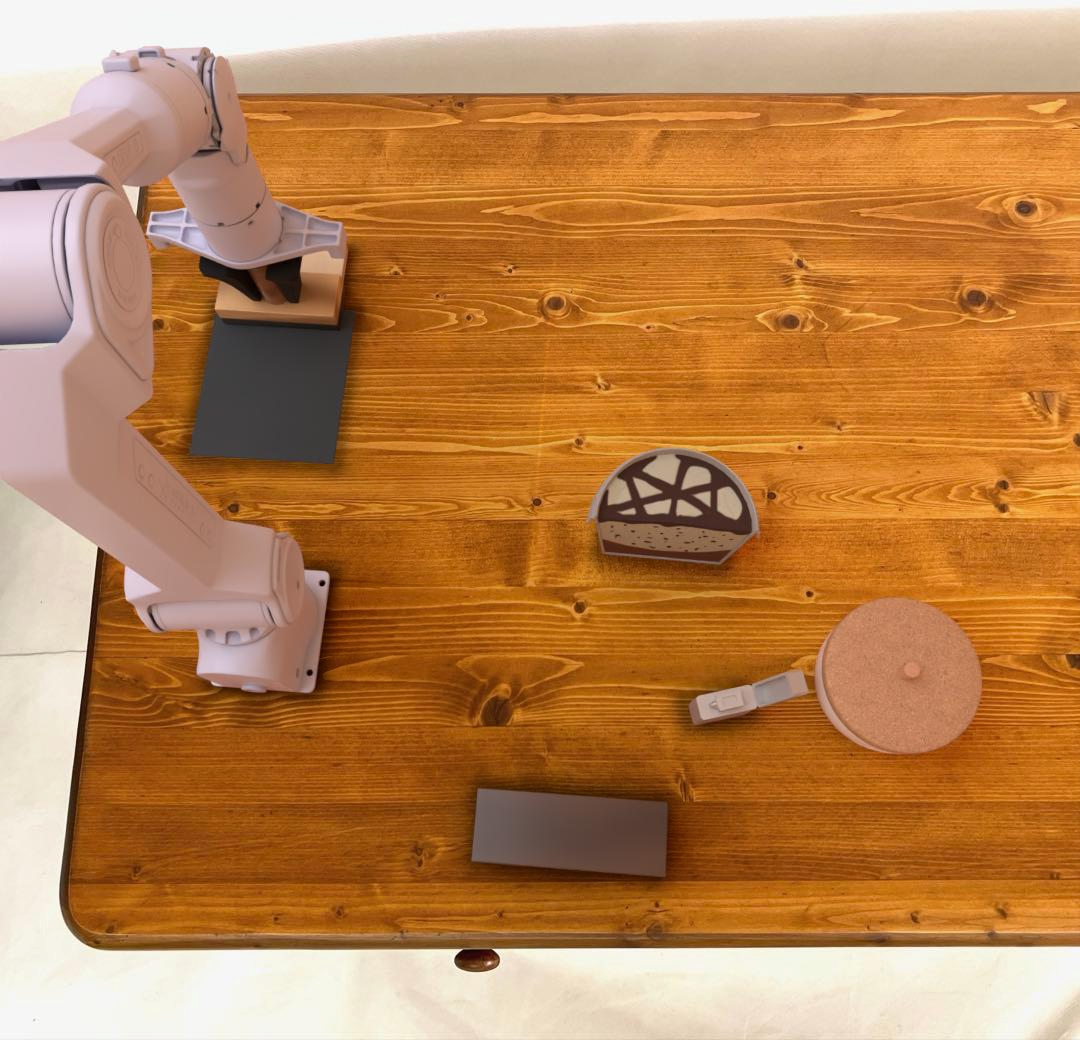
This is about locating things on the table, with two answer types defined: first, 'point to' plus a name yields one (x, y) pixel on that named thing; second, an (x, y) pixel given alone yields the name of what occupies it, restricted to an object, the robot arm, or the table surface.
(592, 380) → the table surface
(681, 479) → the brown half-round block
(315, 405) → the mat
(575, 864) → the dark grey rectangular block
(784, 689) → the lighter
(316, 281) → the brown block with peg
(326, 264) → the chip right
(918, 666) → the trinket box
